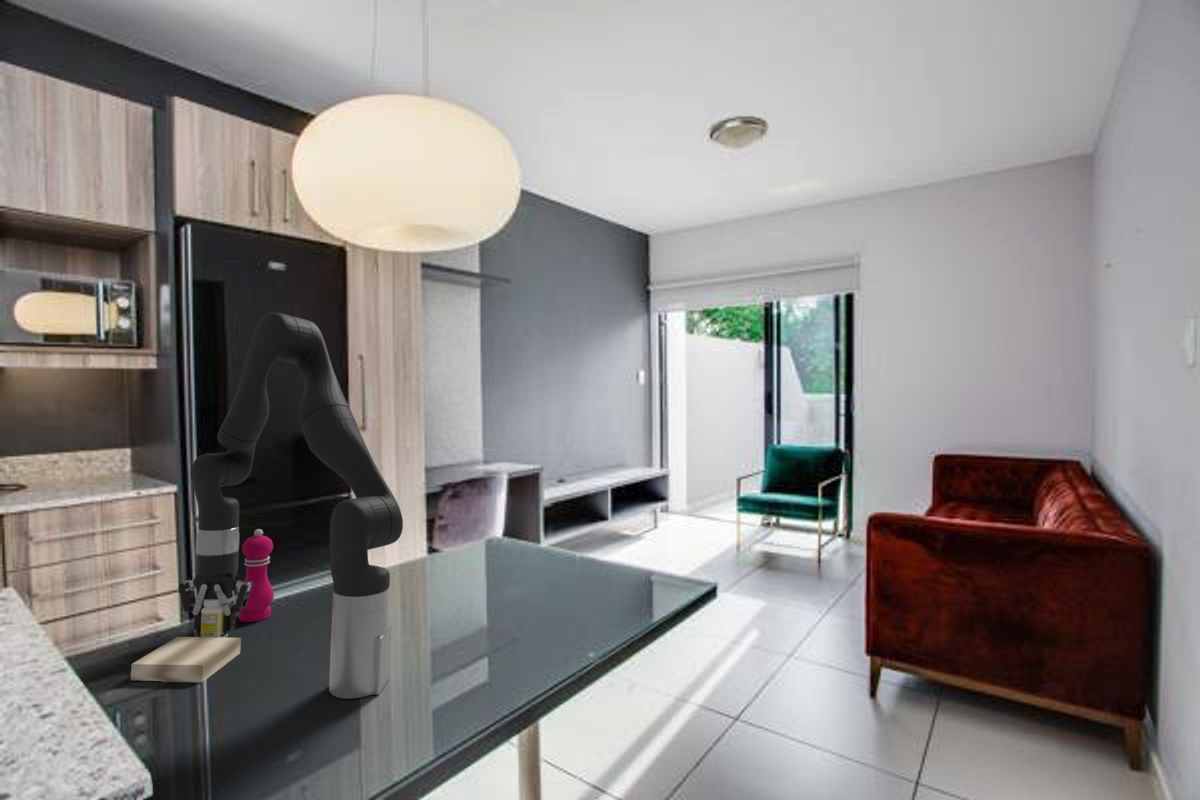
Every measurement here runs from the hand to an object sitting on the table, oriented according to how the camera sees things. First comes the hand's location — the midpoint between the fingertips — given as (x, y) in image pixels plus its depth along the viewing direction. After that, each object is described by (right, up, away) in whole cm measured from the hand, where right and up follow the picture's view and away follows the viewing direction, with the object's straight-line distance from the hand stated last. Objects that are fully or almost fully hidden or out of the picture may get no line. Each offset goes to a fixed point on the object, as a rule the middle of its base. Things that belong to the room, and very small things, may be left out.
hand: (214, 631), depth 121 cm
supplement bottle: (0, -2, 0) cm, 2 cm away
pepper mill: (+1, -2, +12) cm, 12 cm away
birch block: (+4, -1, -13) cm, 13 cm away
